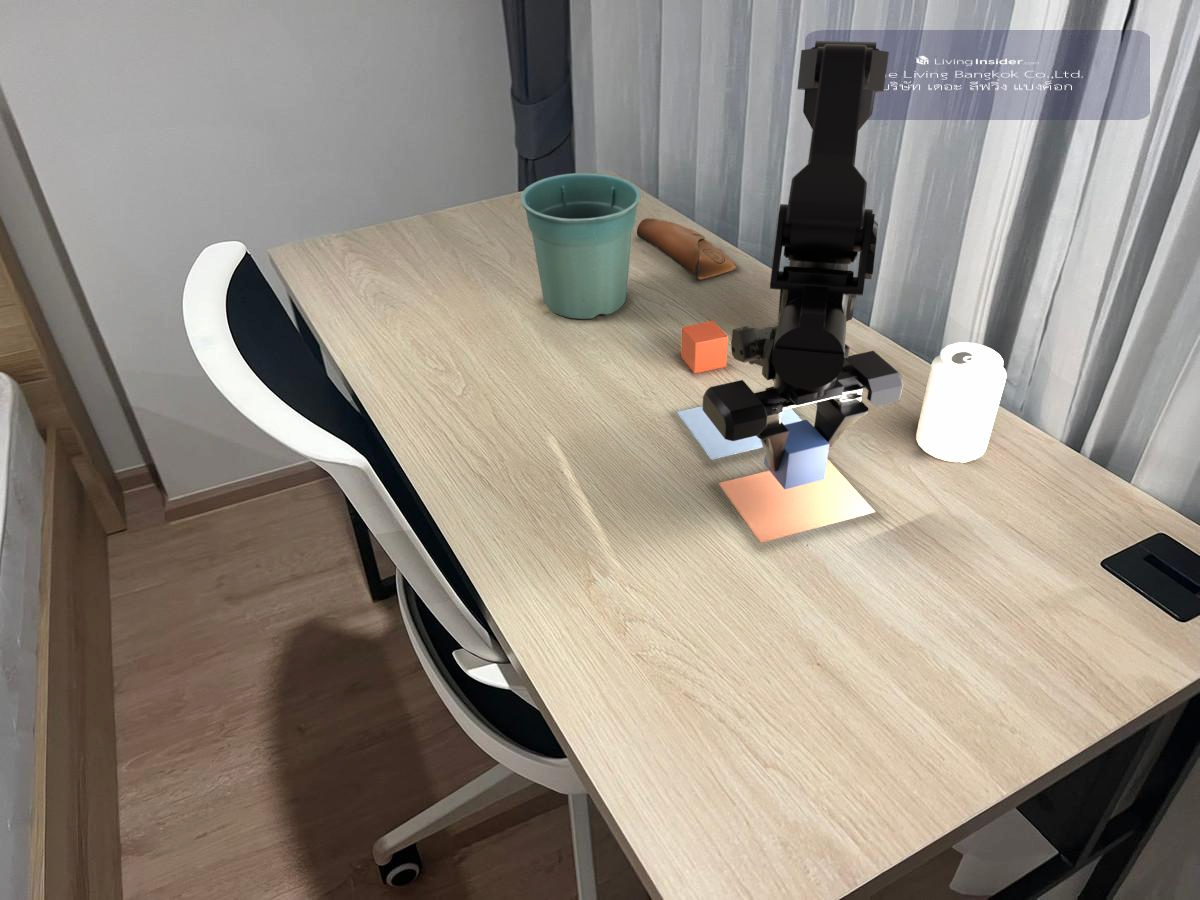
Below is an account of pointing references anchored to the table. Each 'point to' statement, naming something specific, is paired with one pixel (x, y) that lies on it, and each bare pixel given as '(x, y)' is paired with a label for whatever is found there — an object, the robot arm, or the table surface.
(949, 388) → the can
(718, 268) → the sunglasses case
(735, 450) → the blue mat
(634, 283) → the table surface
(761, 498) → the terracotta mat
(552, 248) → the flower pot
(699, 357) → the terracotta block
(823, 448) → the blue block
